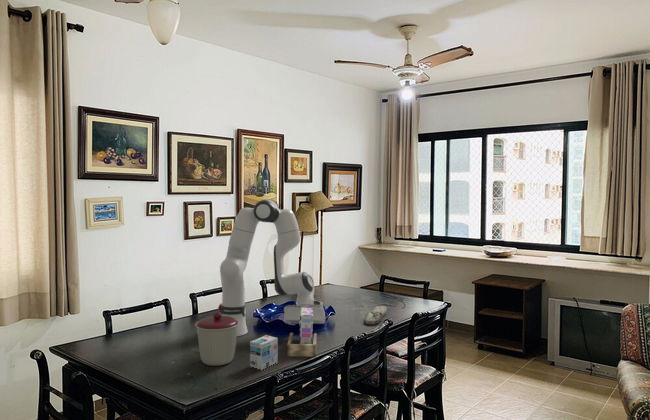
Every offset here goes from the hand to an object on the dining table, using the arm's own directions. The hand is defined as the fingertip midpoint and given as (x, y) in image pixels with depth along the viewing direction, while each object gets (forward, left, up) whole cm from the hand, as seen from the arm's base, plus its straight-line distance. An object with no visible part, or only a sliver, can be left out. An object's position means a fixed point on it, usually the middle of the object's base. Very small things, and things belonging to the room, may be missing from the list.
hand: (304, 330), depth 228 cm
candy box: (+1, -7, -5) cm, 9 cm away
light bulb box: (-15, -31, -5) cm, 35 cm away
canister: (-35, -28, -5) cm, 45 cm away
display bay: (0, -12, -5) cm, 13 cm away
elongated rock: (+39, +43, -5) cm, 58 cm away
